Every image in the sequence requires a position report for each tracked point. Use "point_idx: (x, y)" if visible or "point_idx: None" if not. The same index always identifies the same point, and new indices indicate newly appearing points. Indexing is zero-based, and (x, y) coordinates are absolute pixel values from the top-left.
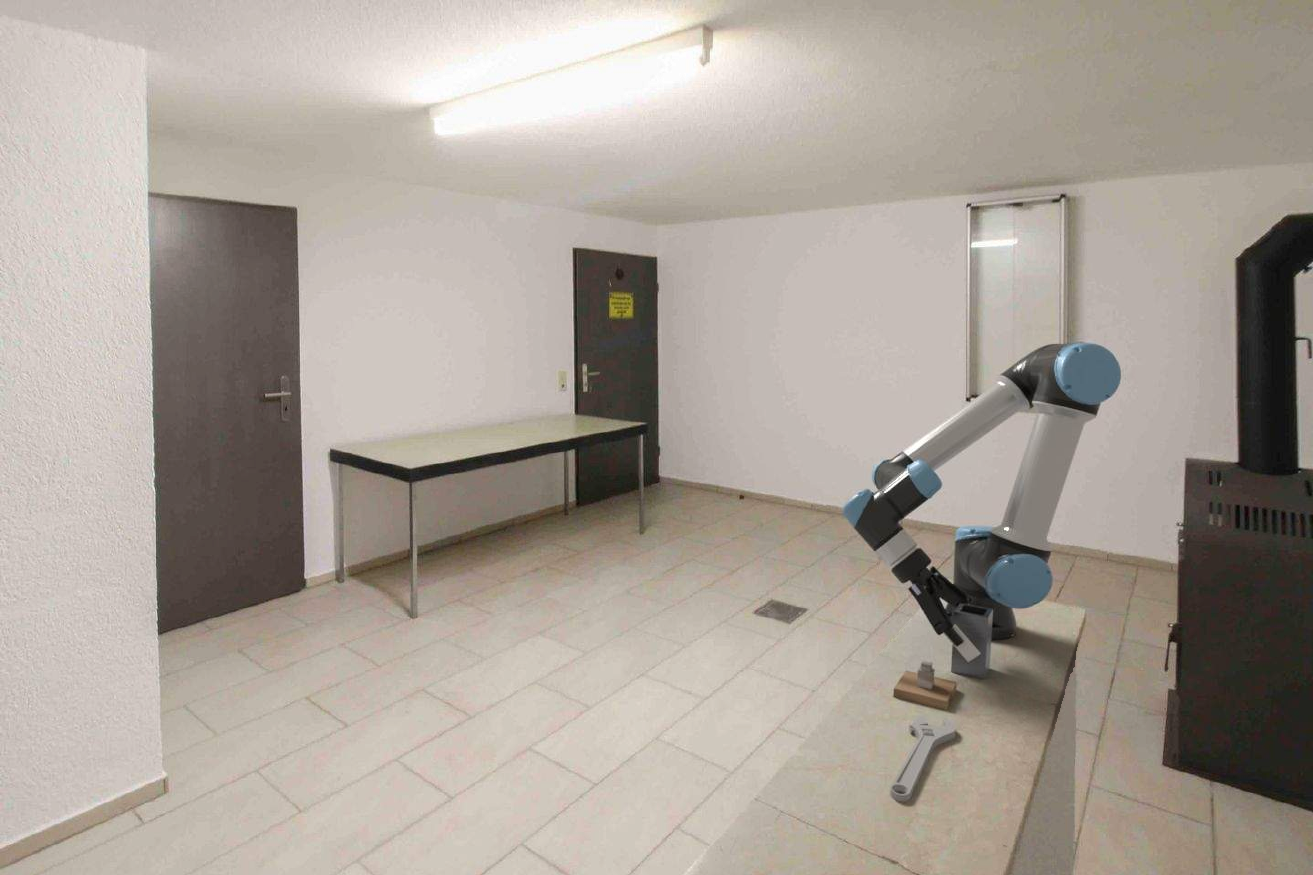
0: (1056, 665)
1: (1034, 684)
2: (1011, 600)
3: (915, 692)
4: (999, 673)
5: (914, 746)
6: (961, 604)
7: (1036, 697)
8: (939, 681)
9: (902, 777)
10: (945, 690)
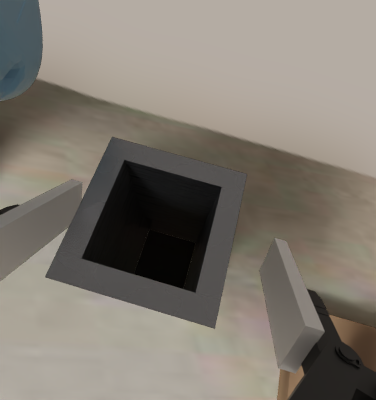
0: (99, 102)
1: (199, 152)
2: (35, 51)
3: None
4: None
5: None
6: (71, 271)
7: (255, 160)
8: None
9: None
10: (358, 338)
